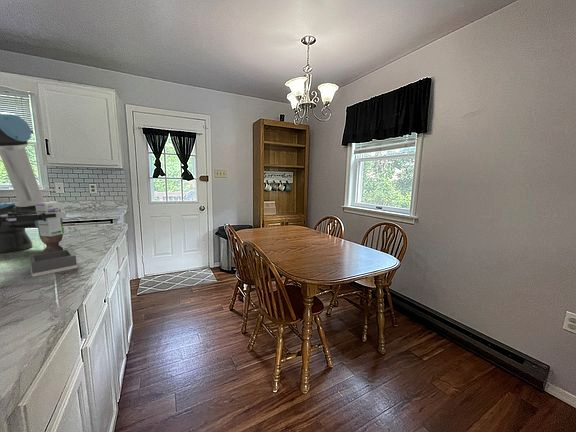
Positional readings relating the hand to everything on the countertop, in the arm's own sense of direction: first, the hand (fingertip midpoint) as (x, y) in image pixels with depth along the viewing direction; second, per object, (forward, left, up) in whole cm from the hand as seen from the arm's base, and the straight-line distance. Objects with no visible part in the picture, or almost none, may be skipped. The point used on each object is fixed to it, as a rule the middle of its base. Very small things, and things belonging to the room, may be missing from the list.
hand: (64, 213), depth 114 cm
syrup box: (0, -5, -9) cm, 10 cm away
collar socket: (+14, -7, -20) cm, 25 cm away
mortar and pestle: (-17, -4, -20) cm, 27 cm away
